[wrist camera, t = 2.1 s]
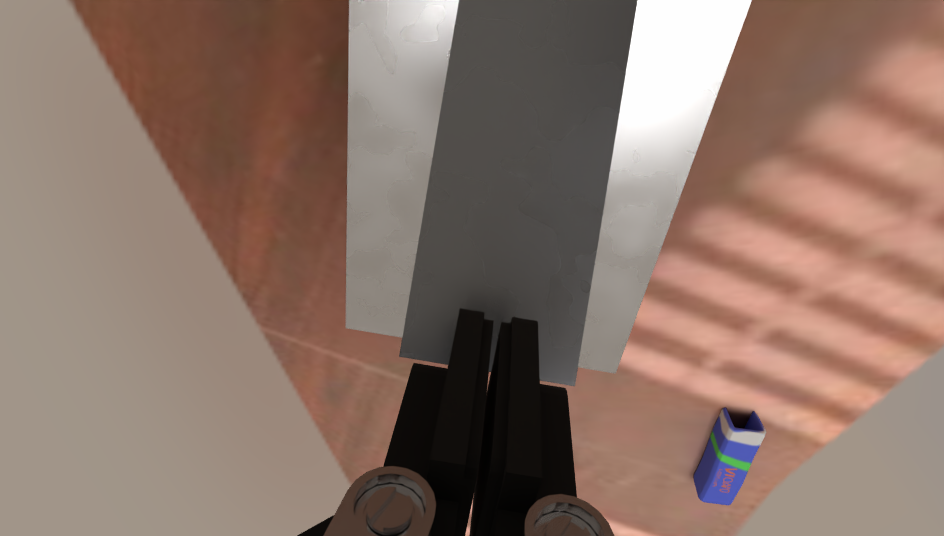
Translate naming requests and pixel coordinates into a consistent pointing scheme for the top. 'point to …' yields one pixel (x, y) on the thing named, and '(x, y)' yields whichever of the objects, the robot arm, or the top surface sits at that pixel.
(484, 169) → the retention lever
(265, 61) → the top surface
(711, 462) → the eraser
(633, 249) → the mounting plate
